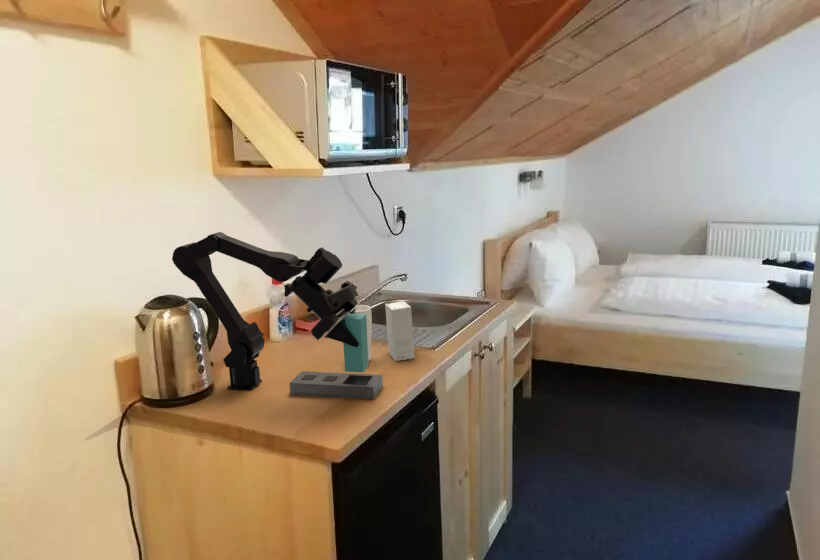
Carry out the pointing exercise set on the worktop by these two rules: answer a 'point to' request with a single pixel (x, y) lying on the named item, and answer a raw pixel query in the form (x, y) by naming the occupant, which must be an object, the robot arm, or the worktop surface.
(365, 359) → the teal peg
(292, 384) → the grey peg board
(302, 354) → the worktop surface
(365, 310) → the drinking glass
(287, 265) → the robot arm
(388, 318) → the skincare box
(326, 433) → the worktop surface
